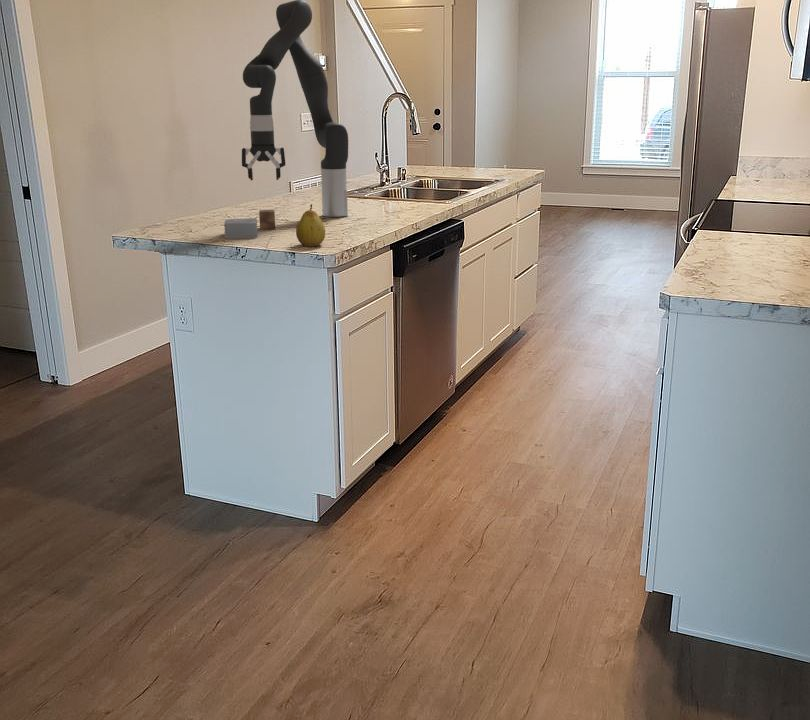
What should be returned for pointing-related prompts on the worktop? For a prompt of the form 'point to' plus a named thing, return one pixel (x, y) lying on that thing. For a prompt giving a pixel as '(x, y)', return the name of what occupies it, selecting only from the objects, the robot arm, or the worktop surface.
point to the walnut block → (267, 219)
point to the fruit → (310, 229)
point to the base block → (240, 228)
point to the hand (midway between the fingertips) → (264, 179)
